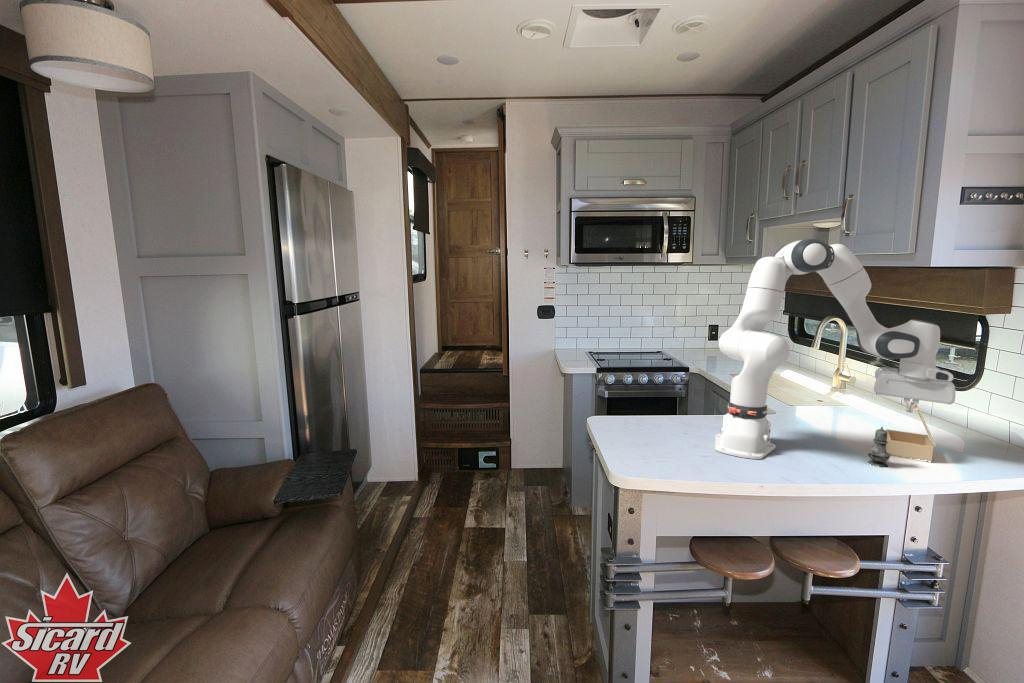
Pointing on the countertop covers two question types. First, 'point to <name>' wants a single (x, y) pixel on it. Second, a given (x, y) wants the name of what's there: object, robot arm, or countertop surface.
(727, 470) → the countertop surface
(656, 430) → the countertop surface
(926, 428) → the lid
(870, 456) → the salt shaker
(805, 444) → the countertop surface
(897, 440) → the mailer box
